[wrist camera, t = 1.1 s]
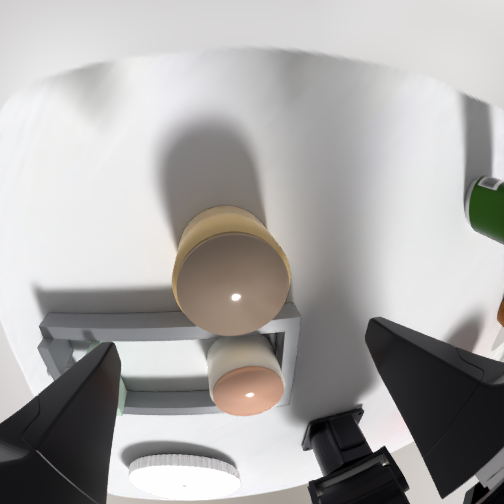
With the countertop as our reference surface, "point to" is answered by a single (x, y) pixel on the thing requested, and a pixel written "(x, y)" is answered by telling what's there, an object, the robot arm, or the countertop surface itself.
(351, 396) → the countertop surface
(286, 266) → the amber jar
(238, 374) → the cream jar
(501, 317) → the disposable coffee cup
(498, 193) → the beer can
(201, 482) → the plastic lid
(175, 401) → the lane
